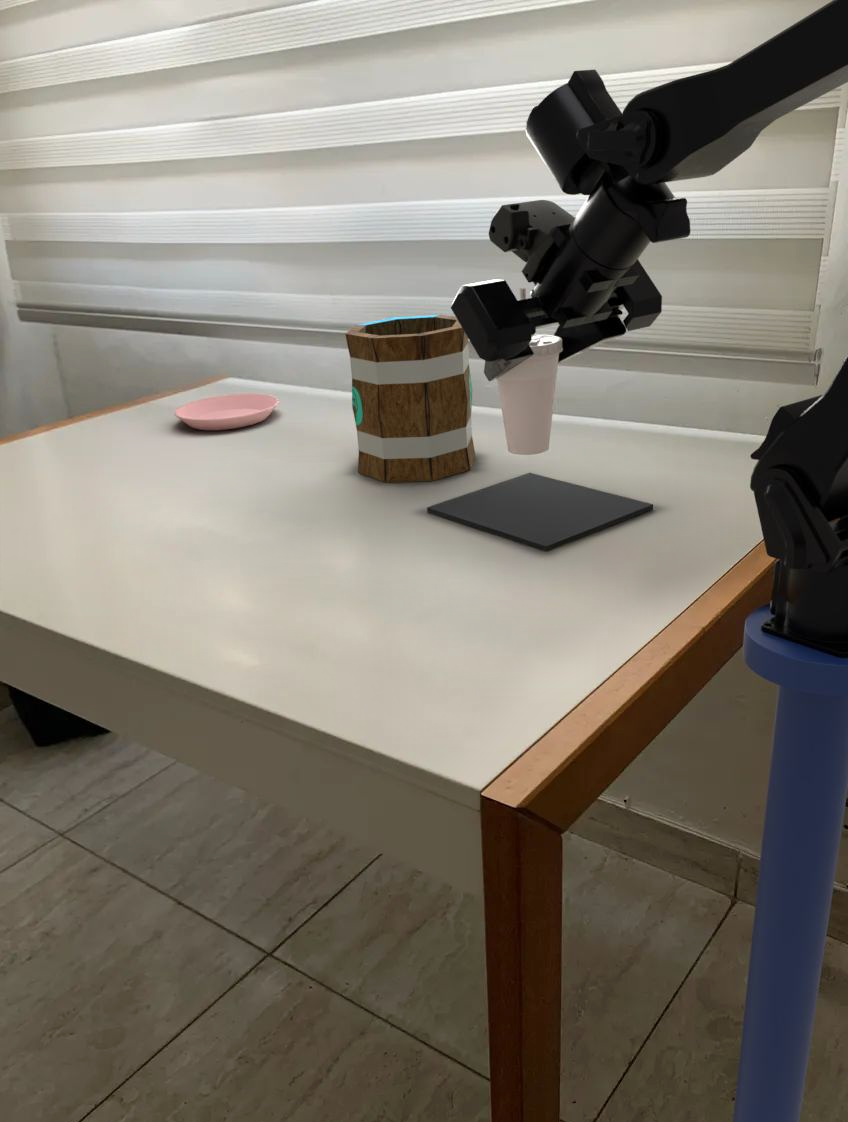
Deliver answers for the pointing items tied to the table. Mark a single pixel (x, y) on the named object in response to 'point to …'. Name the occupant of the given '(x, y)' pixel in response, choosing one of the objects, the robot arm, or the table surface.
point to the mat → (539, 510)
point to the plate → (227, 411)
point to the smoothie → (530, 395)
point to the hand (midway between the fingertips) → (517, 370)
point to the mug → (411, 398)
